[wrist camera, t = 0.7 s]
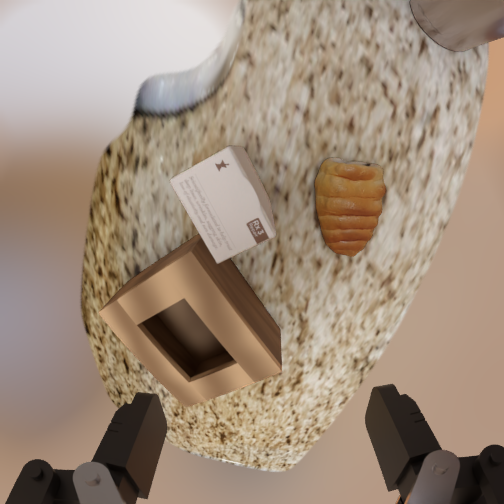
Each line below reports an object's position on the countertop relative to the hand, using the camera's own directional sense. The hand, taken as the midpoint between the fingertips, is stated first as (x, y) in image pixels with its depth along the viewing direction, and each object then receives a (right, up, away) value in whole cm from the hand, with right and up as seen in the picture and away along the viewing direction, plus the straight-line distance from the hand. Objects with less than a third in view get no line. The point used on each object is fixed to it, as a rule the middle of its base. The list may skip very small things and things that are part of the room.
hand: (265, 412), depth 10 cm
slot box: (-6, 0, +23) cm, 24 cm away
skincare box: (-2, +12, +18) cm, 22 cm away
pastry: (+9, +11, +19) cm, 23 cm away
